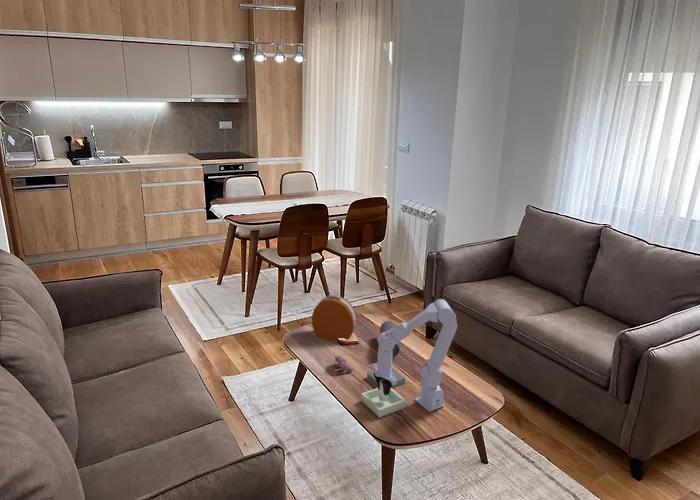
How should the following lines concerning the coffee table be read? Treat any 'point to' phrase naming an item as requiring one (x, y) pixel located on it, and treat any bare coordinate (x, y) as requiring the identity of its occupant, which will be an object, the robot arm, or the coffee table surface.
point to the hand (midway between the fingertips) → (383, 391)
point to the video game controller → (343, 364)
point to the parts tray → (383, 408)
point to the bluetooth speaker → (387, 326)
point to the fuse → (382, 394)
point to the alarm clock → (334, 318)
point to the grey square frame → (398, 376)
